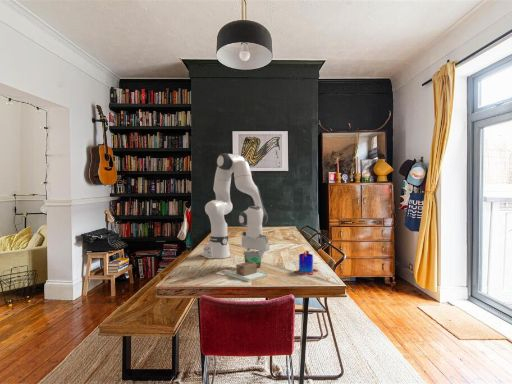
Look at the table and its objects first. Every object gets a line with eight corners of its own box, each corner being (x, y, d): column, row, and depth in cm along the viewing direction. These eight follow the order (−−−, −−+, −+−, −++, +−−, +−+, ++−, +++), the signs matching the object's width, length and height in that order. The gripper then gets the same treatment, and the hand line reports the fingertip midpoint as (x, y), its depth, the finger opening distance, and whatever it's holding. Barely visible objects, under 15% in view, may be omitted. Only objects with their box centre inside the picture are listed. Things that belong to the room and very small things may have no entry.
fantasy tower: (312, 275, 168) (312, 253, 167) (292, 272, 173) (292, 251, 173) (319, 270, 178) (319, 249, 178) (299, 267, 184) (299, 247, 183)
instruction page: (214, 273, 172) (214, 272, 172) (225, 269, 179) (225, 269, 179) (223, 275, 169) (223, 274, 169) (233, 271, 176) (233, 270, 176)
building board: (226, 274, 170) (226, 271, 170) (245, 269, 179) (245, 267, 179) (248, 281, 157) (248, 279, 157) (267, 276, 167) (267, 273, 167)
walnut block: (236, 273, 167) (236, 264, 167) (248, 270, 174) (248, 261, 174) (244, 276, 163) (244, 266, 163) (256, 272, 169) (256, 263, 169)
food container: (247, 270, 178) (247, 253, 178) (243, 267, 184) (243, 251, 183) (266, 267, 184) (266, 250, 184) (261, 265, 189) (261, 249, 189)
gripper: (271, 234, 178) (271, 258, 178) (247, 231, 193) (247, 253, 193) (264, 236, 174) (264, 260, 174) (239, 232, 188) (240, 255, 188)
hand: (255, 256), depth 183 cm, fingers open, 8 cm apart
